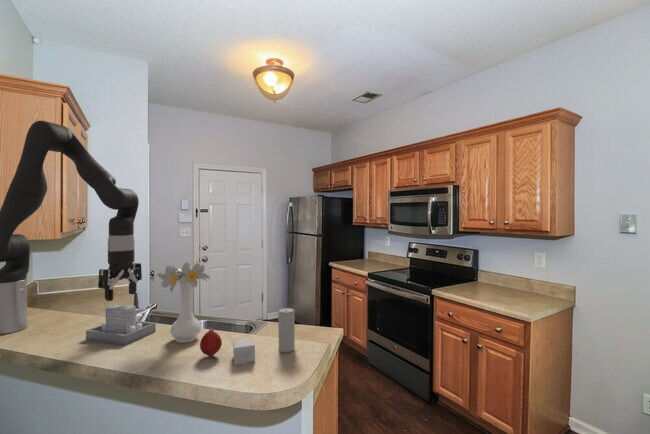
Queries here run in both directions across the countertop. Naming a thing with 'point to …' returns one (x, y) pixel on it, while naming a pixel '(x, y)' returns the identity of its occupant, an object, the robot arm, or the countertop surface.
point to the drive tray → (121, 339)
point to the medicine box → (120, 318)
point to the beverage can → (286, 330)
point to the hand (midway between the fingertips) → (121, 297)
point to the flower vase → (184, 299)
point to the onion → (210, 343)
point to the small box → (244, 351)
